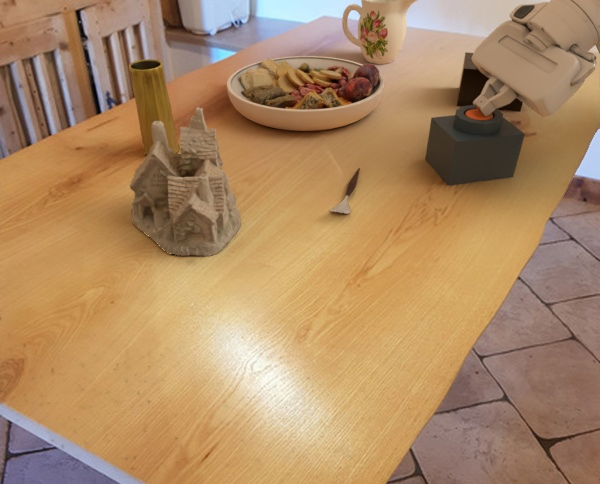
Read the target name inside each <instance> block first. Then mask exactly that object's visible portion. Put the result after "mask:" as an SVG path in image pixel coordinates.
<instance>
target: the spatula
mask: <svg viewBox="0 0 600 484" xmlns="http://www.w3.org/2000/svg"><path fill="white" fill-rule="evenodd" d="M360 170H361V168H360V167H358V168H357V170H356V171H355V173H354V174H353V176H352V177H351V179H350V181H348V184H347V188H346V192H345V196H344V199H343V200H342V201H340V202H339V203H338V204H337V205H335V206H334V207H333V208H332V209H328V212H330V213H331V212H334V213H339V214H345V215H348V214H350V213H351V207H350V206H349V203H348V199H349V198H350V196H351V194H352V193H353V192H354V190H355V189H356V186H357V182H358V178H359V174H360Z"/></svg>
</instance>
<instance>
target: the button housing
mask: <svg viewBox="0 0 600 484" xmlns="http://www.w3.org/2000/svg"><path fill="white" fill-rule="evenodd" d="M473 109H476V107H475V106H474V105H469V106H460V107H458V108H457V109H456V110H455V114H453V115H445V116H444V115H443V116H433V117H431V119H430V125H429V132H428V138H427V144H426V151H425V156H424V157H425V158H424V160H425V162H426V163H427V164H428V165H429V166H430V167H431V168H432V169H433V171H434V172H435V173H436V174H437V175H438V176H439V177H440V179H441V180H442V181H443V182H444V183H445V184H446V185H447V186H448V187H449V186H458V185H465V184H473V183H481V182H489V181H496V180H504V179H513V178H514V176H515V171H516V169H517V166H518V165H517V164H518V162H519V157H520V154H521V150H522V146H523V143H524V139H525V136H526V133H524V132H523V131H522V130H521V129H519V128H518V127H517V126H516V125H514V124H513V123H511V122H510V120H508V119H507V118H505V117H504V113H502V112H501V110H497V109H495V110H494V111H493V112H492V114H493V118H492V119H490V120H474V119H471V118H469V117H466V116H465V114H466V112H467V111H469V110H473Z"/></svg>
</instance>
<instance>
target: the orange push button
mask: <svg viewBox="0 0 600 484" xmlns="http://www.w3.org/2000/svg"><path fill="white" fill-rule="evenodd" d="M465 116H466V117H469V118H471V119H474V120H490V119H492V118H493V114H492V113H491V114H490V115H489V116H485V115H484V114H482V113H481V112H480V111H479V110H478V109H473V110H469V111H467V112H466V114H465Z"/></svg>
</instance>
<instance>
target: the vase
mask: <svg viewBox="0 0 600 484" xmlns="http://www.w3.org/2000/svg"><path fill="white" fill-rule="evenodd" d="M128 71H129V75H130V80H131V81H130V82H131V85H132V91H133V95H134V101H135V107H136V112H137V117H138V123H139V124H138V125H139V130H140V135H141V141H142V150H143V154H144V153H145V154H147V155H148V154H149V151H150V148H151V147H152V145H153V144H154V143H153V138H152V123H153V122H154V121H161V122H162V123H163V124H164V128H165V131H166V136H167V141H168V148H171V149H173V151H174V152H175V153H176V154H178V152H180V151H179V150H180V143H179V141H178V135H177V130H176V125H175V120H174V117H173V111H172V106H171V101H170V96H169V92H168V88H167V83H166V77H165V71H164V63H163V62H162V61H161V60H160V59H153V58H148V59H147V58H146V59H145V58H144V59H138V60H135V61H132V62H130V63H129V65H128ZM145 154H144V155H145ZM147 155H146V156H147Z"/></svg>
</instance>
